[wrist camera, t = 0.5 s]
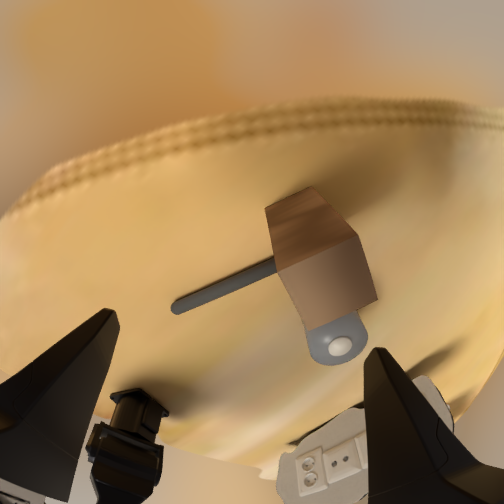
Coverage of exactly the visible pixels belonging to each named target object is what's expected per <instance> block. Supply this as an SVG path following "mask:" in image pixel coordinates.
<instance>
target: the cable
mask: <svg viewBox="0 0 504 504" xmlns="http://www.w3.org/2000/svg"><path fill="white" fill-rule="evenodd" d="M274 273H277V269H276V264H275V258H272V259H270V260H267V261H265V262H263V263H261V264H259V265H256V266H254V267H252V268H250V269H248V270H245V271H243V272H241V273H239V274H237V275H234V276H232V277H230V278H228V279H225V280H223V281H221V282H219V283H216V284H214V285H212V286H210V287H208V288H205V289H203V290H201V291H199V292H196V293H194V294H192V295H190V296H187V297H185V298H183V299H180V300H178V301H176V302H174V303H173V304H172V305H171V311H172V313H174V314H176V315H179V314H181V313H184V312H186V311H189V310H191V309H193V308H196V307H198V306H201V305H203V304H205V303H208V302H210V301H212V300H215V299H217V298H219V297H222V296H224V295H226V294H229V293H231V292H233V291H236V290H238V289H240V288H243V287H245V286H247V285H249V284H252V283H254V282H256V281H259V280H261V279H263V278H265V277H268V276H270V275H272V274H274Z"/></svg>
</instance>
